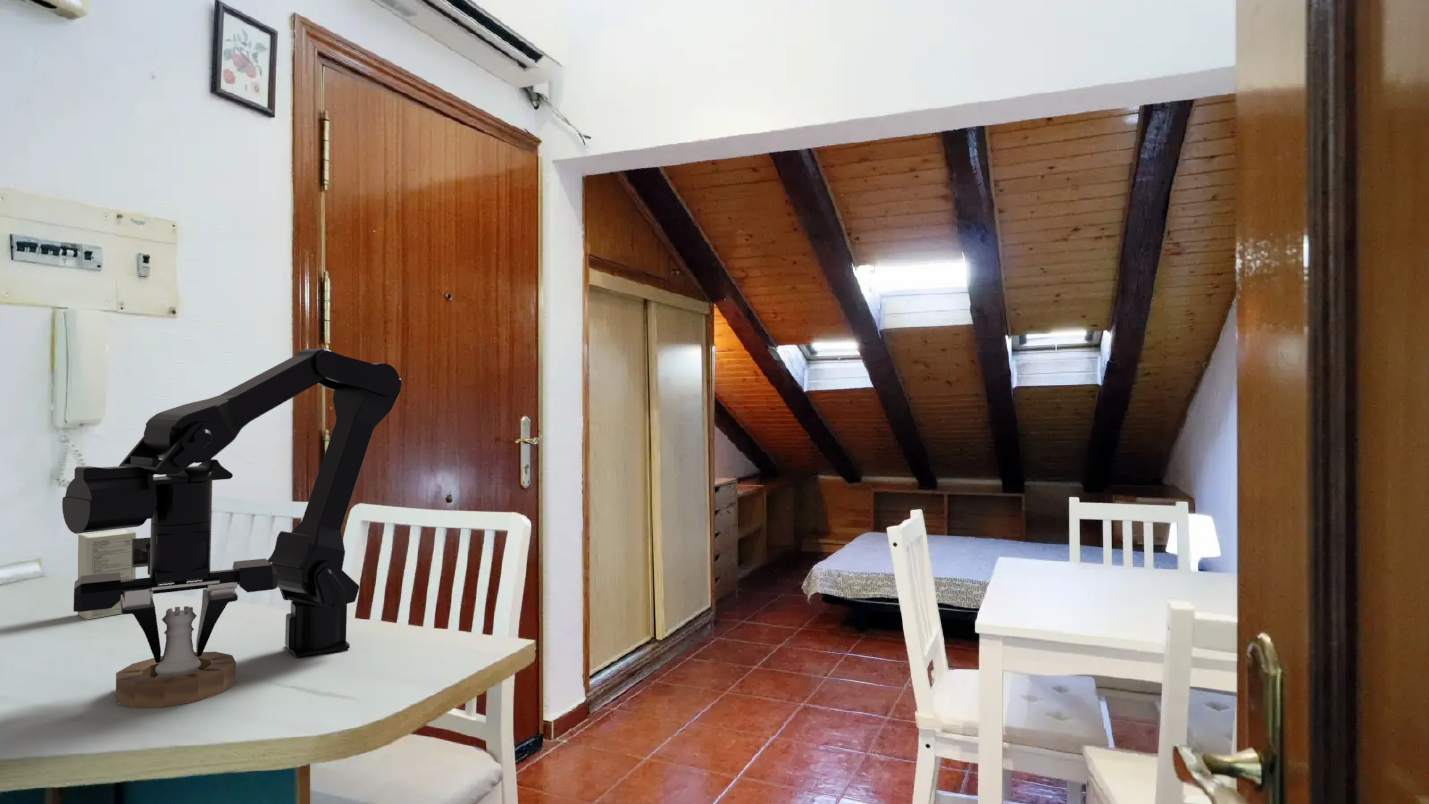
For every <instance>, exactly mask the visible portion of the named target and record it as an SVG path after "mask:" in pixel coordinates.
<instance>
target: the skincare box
mask: <svg viewBox="0 0 1429 804" xmlns="http://www.w3.org/2000/svg"><path fill="white" fill-rule="evenodd" d="M77 535H78V536H77V539H78V541H77V542H78V543H77V546H78V547H77V579H79V578H80V577H81V576H84V575H95V574H106V573H116V572H120V577H121V580H129V579H137V578H136V577H137V570H136V569H137V567H135V568H133V567H132V539H136V538H137V532H136V531H133V530H130V529H128V528H122V529H113V530H105V531H97V532H88V533H80V534H77ZM77 615H79V616H80V617H81V618H83V619H85V620H92V619H99V618H104V617H109V616H113V615H121V607H120V601H119V602H118V603H117V604H116V605H115V606H113V607H112V608H110V609H101V610H92V611H84V612H77Z"/></svg>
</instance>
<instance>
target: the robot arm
mask: <svg viewBox="0 0 1429 804" xmlns="http://www.w3.org/2000/svg"><path fill="white" fill-rule="evenodd" d="M402 383H403V381H402V379H401V378H400V376H399V374H398V371H397V370H396V368H395V367H393V366H392V365H390V364H388V363H385V362H384V363H383V362H376V363H375V362H368V361H365V360H360V359H356V358H353V357H349V356H344V355H343V354H339V353H337V352H335V351H333V350H330V349H328V348H304V349H301V350H300V351H298V352H297V353H295V355H294V356H292V357H290V358H288V359H286V360H284V361H282V362H281V363H278V364H277V365H274V366H273V367H271V368H269V369H267V370H265V371H263V372H261V373H259V374H258V375H256V376H254V377H251V378H250V379H248V380H246V381H244V382H242V383H240V384H238V385H236V386H235V387H232V388H231V389H228V390H227V391H225V392H223V393H220V394H218V395H215V396H213V397H210V398H207V399H203V400H201V399H200V400H198V401H192V402H189V403H185V404H182V405H178V406H175V407H172V408H169V409H166V410H163V411H159V412H158V413H156V414H154V415H152V416H151V417H150V418H149V419H148V420H147V421H146V422H145V428H144V431H143V436H142V438H141V439H140V440H139V441H138V442H137V443H136V444H135V446H134V447H133V448H132V450H130V451H129V453H128V454H127V455H126V456H125V458H124V459H123V460H122V461H121V462H120V464H119V465H118V466H105V467H103V466H102V467H99V466H98V467H97V466H92V465H91V466H90V465H86V466H76V467H75V468H74V478H73V479H72V480H71V481H70V483H69V484H68V486H67V488H66V491H65V494H64V495H65V496H63V497H62V502H61V503H62V504H61V505H62V507H61V508H62V515H63V519H64V523H65V525H66V527H67V528H68V530H69V531H70V532H71V533H73V534H75V535H78V534H84V533H94V532H103V531H111V530H120V529H128V528H137V527H138V528H139V527H142V526H143V525H144V524H145V522H146V521H147V520H149V519H150V537H138V538H137V537H136V539H132V567H133V568H135V567H136V568H142V567H143V568H145V567H147V575H149V577H140V578H136V579H129V580H121V577H120V572H116V573H106V574H95V575H84V576H81V577H80V578H79V579H78V578H77V579H76V580H75V581H74V587H73V612H74V613H75V612H76V613H78V612H84V611H92V610H101V609H110V608H112V607H113V606H115V605H116V604H117V603H118V602H119V601H120V607H121V614H122V615H133V617H134V618H135V620H136V621H137V623H138V625H139V627H140V628H141V629H142V631H143V633H144V635H145V637H146V639H147V643H148V645H149V648H150V651H151V653H152V656H153V658H154V659H155V662H156V663H160V660H161V656H162V655H161V654H162V648H161V643H160V642H161V641H160V634H159V628H158V627H159V626H158V620H157V613H156V606H155V601H154V595H155V594H156V595H157V594H164V593H166V594H167V593H175V592H183V591H184V592H185V591H192V590H202V597H201V598H202V601H201V609H200V614H199V616H200V617H199V622H198V628H197V629H198V630H197V635H196V643H195V644H196V645H195V646H196V647H195V649H196V651H195V652H196V655H197V657H200V656H201V655H202V653H203V652H205V649H206V645H207V644H208V642H209V639H210V637H211V634H212V632H213V630H214V628H215V625H216V624H217V621H218V620H219V618H220V617H221V615H222V614H223V612H224V610H225V609H226V607H227V605H228V603H229V604H230V603H231V602H237V601H238V600H239V598H238V597H239V596H238V594H237V593H236V589H238V586H239V588H241V589H242V590H244V591H245V592H246V593H247V594H248V593H255V592H263V591H264V592H265V591H272V590H276V589H277V588H279V590H280V591H279V592H280V593H281V596H282V599H283V600H284V601H290V612H289V613H286V614H285V630H284V632H285V633H284V634H285V636H284V645H285V646H286V647H287V649H288V650H289V651H290V652H291V653H292V655H294V657H295V658H299V657H306V656H312V655H317V654H318V655H319V654H324V653H330V652H336V651H342V650H348V649H350V645H351V644H350V643H349V642H348V641H347V620H348V618H347V617H348V616H347V615H348V611H347V610H348V604H351V603H355V602H356V599H357V596H358V592H359V590H360V585H359V584H358V583H356V581H355V580H354V579H352V578H351V577H350V576H349V575H348V574H347V572H345V571H344V570H343V568H344V567H343V566H344V561H345V557H346V550H345V549H346V548H345V545H344V539H343V534H342V528H343V525H344V522H345V519H346V516H347V512H348V510H349V507H350V503H351V501H352V496H353V493H354V491H355V488H356V486H357V485H356V484H357V483H358V482H357V481H358V479H359V476H360V474H361V470H362V467H363V463H364V460H365V459H366V458H365V457H366V454H367V451H368V449H369V445H370V442H371V439H372V436H373V433H374V430H375V429H376V427H378V425H379V424H380V423H381V422H382V421H384V419H385V418H386V417H388V415H389V414H390V413H391V412H392V410H393V407H394V406H395V404H396V401H398V398H399V396H400V395H401V394H400V393H401V391H402V386H403V384H402ZM317 384H318V385H319V386H321V387H322V388H325V389H328V390H332V391H333V396H332V403H333V407H334V412H335V417H336V418H335V419H336V420H335V423H334V426H333V430H332V432H331V435H330V438H329V442H328V444H327V447H326V450H325V452H324V456H323V458H322V462H321V465H320V467H319V470H318V473H317V476H316V479H315V482H314V484H313V487H312V491H311V493H310V497H309V499H308V501H307V506H306V509H305V511H304V513H303V516H302V520H301V521H300V522H299V524H298V525H297V526H296V527H295V528H294V529H293V530H292V531H291V532H289V531H284V530H281V531H280V532H279V533H278V535H277V537H276V541H275V546H274V549H273V552H272V554H271V555H270V557H269V558H268V559H266V558H257V559H247V560H246V559H245V560H235V561H233V565H232V569H222V570H211V565H212V563H211V562H212V560H211V558H212V557H211V556H212V554H211V552H212V521H213V520H212V516H213V513H212V511H213V510H212V509H213V481H220V480H222V481H223V480H230V479H232V478H233V476H234V474H233V473H232V472H231V471H229V470H228V469H227V468H225V467H224V466H223V465H222V464H221V463H220V462H219V460H218V459H214V457H215V456H217V455H218V454H220V452H222V451H223V450H224V449H225V448H226V447H228V446H229V445H230V444H232V442H234V441H235V439H236V438H237V437H238V435H239V434H240V433H241V431H242V429H244V428H245V427H246V426H247V425H248V424H249V423H251V422H253V421H254V420H256V419H257V418H259V417H261V416H263V415H265V414H266V413H268V412H270V411H272V410H274V409H275V408H277V407H279V406H281V405H282V404H284V403H285V402H287V401H289V400H291V399H293V398H295V397H296V396H298V395H300V394H301V393H303V392H305V391H307V390H308V389H310V388H312V387H313V386H315V385H317ZM192 464H198V465H193V466H192ZM154 475H156V476H154ZM157 475H159V476H157ZM121 614H120V615H121Z"/></svg>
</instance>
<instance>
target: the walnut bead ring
mask: <svg viewBox="0 0 1429 804" xmlns="http://www.w3.org/2000/svg"><path fill="white" fill-rule="evenodd" d="M194 653H195V654H196V651H194ZM162 657H163V655H161V659H162ZM196 658H197V659H199V660H200V662H201V665H200V667H199V668H198V669H199V670H201V671H197V672H194V673H191V674H186V675H180V676H174V677H156V676H157V675H158V674H157V673H156V671H155V669H156V667H157V666H158V665H159V664H160V663H161V661H160V663H156V662H155V659H154V657H151V658H149V659H145V660H141V661H138V662H134V663H131V664H130V665H128V666H125V667H124V668H122V669H121V670H119V671H117V672H115V701H116V702H115V704H118V705H121V706H127V707H129V708H134V709H137V708H140V709H141V708H143V709H144V708H165V707H166V708H168V707H171V706H178V705H183V704H188V703H194V702H199V701H201V700H204V699H208V698H210V697H212V696H216V695H218V694H222V693H223V692H225V691H227V690H228V689H229V688H230V687H231V686H233V685H234V684H236V674H237V673H236V670H237V669H236V668H237V666H236V665H237V661H236V660H235V657H234V656H233V654H229V653H225V652H224V653H223V652H219V651H203V653H202V655H201V656H200V657H197V656H196Z"/></svg>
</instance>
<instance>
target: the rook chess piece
mask: <svg viewBox="0 0 1429 804" xmlns="http://www.w3.org/2000/svg"><path fill="white" fill-rule="evenodd" d="M195 618H197V614H196V613H195V612H194V607H193V606H189V605H187V606H186V605H185V606H183V609H182V610H181V606H175V607H174V610H173V608H172V607H170V608H168V609H167V610H165V615H164V616H163V618H162V619H161V621H162V622H163V623H164V624H165V625H166V628H165V629H166V630H165V631H164V632H163V633H164V635H165V645H164V650H163V651H164V652H163V654H162V656H163V657H162V659H161V660H160V661H161V663H160V664H159V665H158V666H157V667H156V669H155V671H156V673H157V674H158V675H157V676H156V677H174V676H180V675H186V674H191V673H194V672H197V671H201V670H199V669H198V668H199V667H200V665H201V662H200V660H199V659H197V658H196V656H197V655H196V654H195V653H194V652H195V649H194V644H193V638H192V637H193V631H195V628H194V627H193V625H192V624H193V621H194V620H195Z"/></svg>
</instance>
